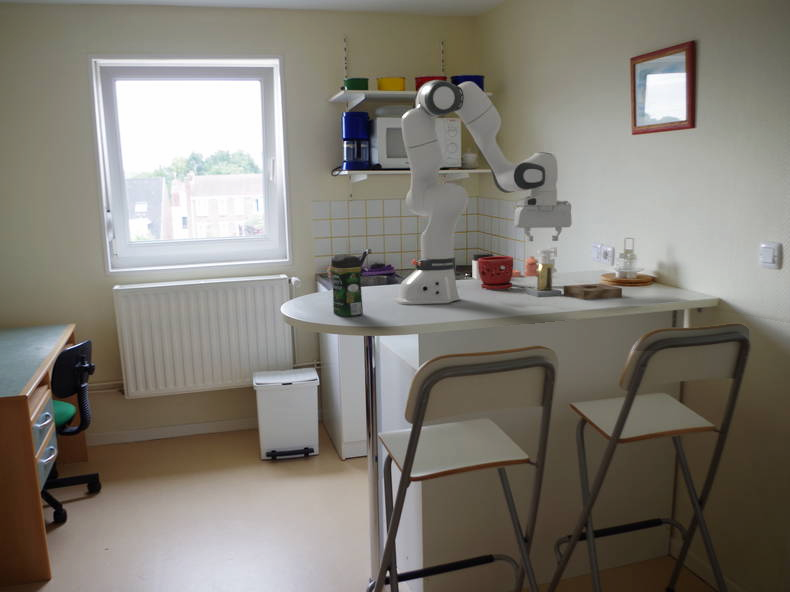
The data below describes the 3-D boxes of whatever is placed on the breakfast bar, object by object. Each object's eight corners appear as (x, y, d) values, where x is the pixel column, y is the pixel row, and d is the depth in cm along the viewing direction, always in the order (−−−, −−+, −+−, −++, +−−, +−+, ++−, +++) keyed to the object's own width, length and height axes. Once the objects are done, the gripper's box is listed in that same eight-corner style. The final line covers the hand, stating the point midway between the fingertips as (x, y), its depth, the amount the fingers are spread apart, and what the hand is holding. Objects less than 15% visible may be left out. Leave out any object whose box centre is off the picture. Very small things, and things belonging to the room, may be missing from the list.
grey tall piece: (558, 287, 253) (558, 247, 251) (539, 288, 253) (539, 248, 251) (554, 285, 260) (554, 246, 258) (536, 285, 260) (536, 246, 258)
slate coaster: (537, 296, 231) (537, 292, 231) (526, 293, 240) (526, 289, 240) (561, 295, 234) (561, 290, 233) (549, 291, 242) (549, 287, 242)
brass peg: (534, 288, 238) (535, 263, 237) (547, 288, 240) (548, 263, 239) (542, 290, 233) (543, 264, 232) (554, 290, 235) (556, 264, 234)
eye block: (583, 299, 222) (583, 290, 221) (563, 294, 235) (563, 285, 235) (621, 297, 225) (622, 288, 225) (599, 291, 238) (600, 283, 238)
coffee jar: (329, 314, 209) (327, 254, 206) (353, 311, 212) (350, 252, 210) (342, 319, 200) (339, 256, 197) (366, 316, 204) (364, 254, 201)
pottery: (498, 282, 273) (498, 258, 272) (494, 280, 282) (494, 256, 281) (542, 281, 273) (542, 257, 272) (537, 278, 283) (537, 255, 281)
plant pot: (496, 285, 263) (495, 255, 261) (520, 289, 252) (520, 257, 251) (471, 289, 255) (470, 257, 254) (495, 292, 245) (495, 259, 243)
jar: (485, 285, 266) (484, 255, 264) (468, 283, 271) (468, 254, 270) (498, 282, 272) (498, 253, 270) (482, 281, 278) (481, 252, 276)
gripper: (566, 200, 238) (565, 240, 240) (512, 200, 233) (512, 240, 235) (575, 200, 232) (574, 240, 233) (520, 200, 227) (519, 241, 229)
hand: (542, 241), depth 234 cm, fingers open, 8 cm apart
